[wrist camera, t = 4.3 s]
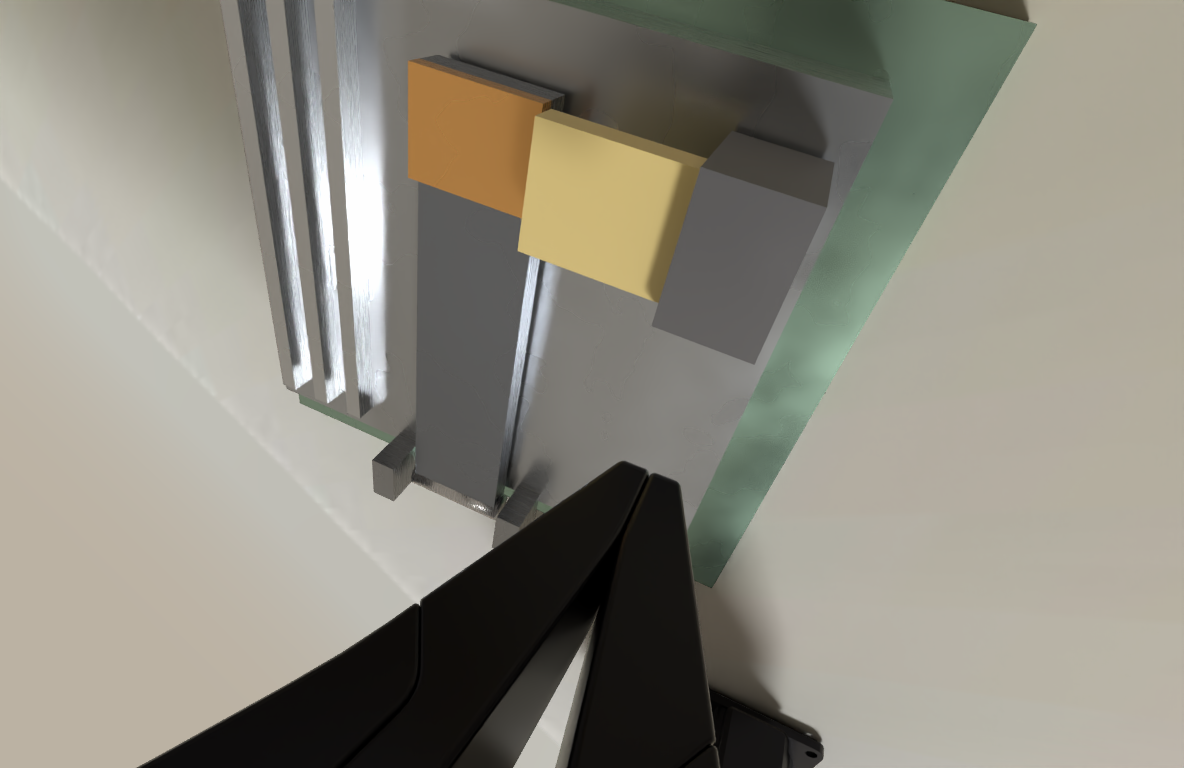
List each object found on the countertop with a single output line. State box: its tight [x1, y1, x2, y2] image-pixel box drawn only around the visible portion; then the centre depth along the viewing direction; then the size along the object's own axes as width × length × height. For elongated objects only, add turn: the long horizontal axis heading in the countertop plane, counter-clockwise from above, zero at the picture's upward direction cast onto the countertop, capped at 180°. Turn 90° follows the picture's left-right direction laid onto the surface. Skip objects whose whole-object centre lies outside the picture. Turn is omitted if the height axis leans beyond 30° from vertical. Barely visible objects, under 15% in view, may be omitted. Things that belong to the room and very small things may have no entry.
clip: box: [518, 109, 834, 365], centre depth 11 cm, size 3×5×3 cm, turn 78°
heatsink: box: [220, 0, 1037, 588], centre depth 17 cm, size 19×19×4 cm
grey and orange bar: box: [408, 55, 565, 520], centre depth 16 cm, size 13×3×1 cm, turn 168°
